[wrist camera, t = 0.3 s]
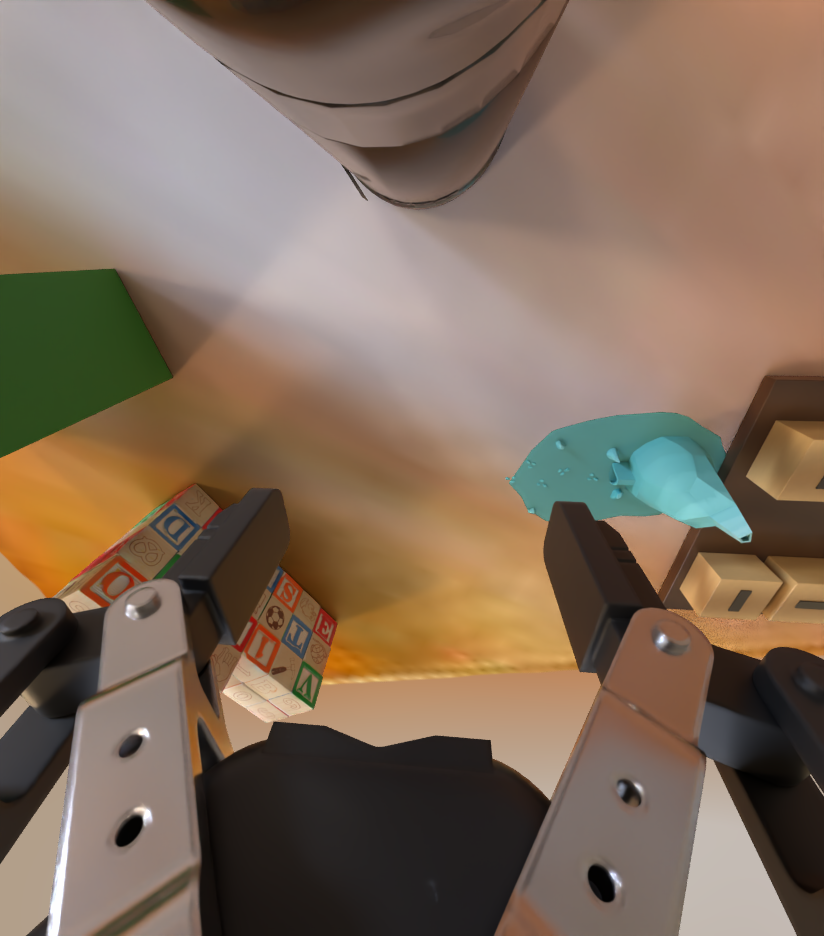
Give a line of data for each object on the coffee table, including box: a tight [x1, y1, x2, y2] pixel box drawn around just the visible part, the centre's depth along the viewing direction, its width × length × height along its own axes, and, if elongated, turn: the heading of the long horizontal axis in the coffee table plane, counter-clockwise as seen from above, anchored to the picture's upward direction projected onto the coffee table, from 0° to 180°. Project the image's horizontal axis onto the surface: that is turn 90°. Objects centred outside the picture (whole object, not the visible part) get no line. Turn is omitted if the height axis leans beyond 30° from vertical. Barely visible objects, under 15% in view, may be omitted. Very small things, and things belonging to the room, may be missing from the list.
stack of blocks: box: [53, 484, 337, 723], centre depth 33 cm, size 21×6×12 cm, turn 32°
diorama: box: [506, 412, 752, 543], centre depth 26 cm, size 12×20×9 cm, turn 100°
